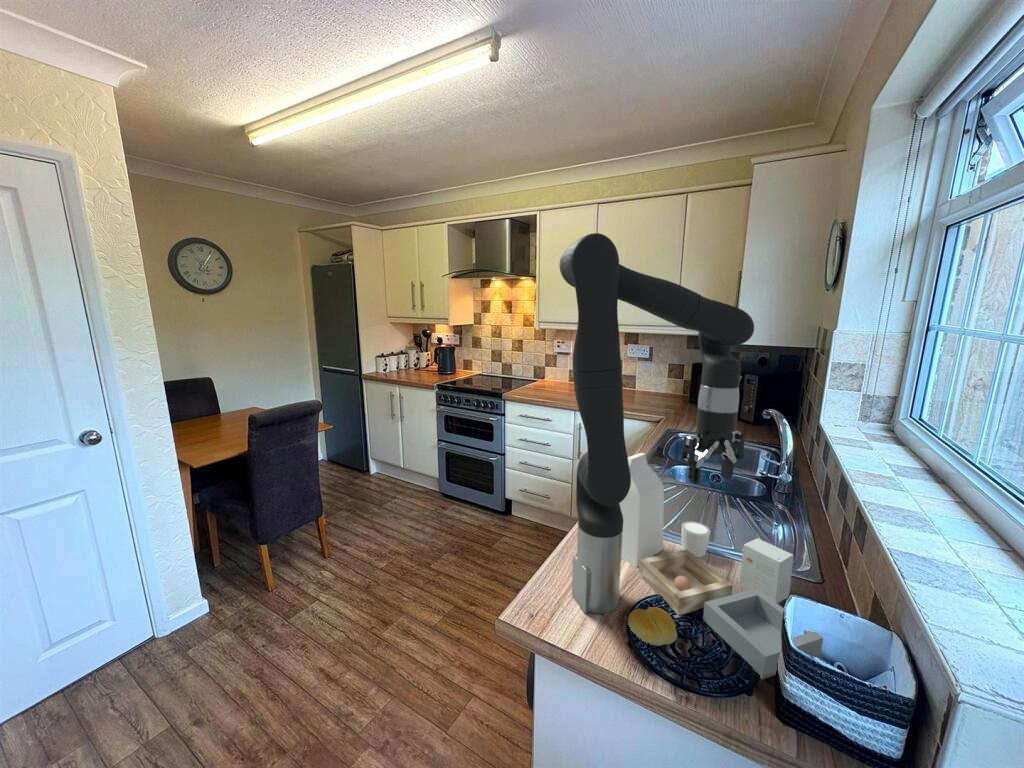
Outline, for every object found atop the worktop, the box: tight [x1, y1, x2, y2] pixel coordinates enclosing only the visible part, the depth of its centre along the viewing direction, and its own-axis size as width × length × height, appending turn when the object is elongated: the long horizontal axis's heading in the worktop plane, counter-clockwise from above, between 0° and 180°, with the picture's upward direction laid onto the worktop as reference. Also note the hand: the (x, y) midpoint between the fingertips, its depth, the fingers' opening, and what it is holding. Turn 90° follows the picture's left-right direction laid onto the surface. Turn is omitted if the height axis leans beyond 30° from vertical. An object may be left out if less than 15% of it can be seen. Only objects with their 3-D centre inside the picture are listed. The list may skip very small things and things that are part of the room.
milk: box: [619, 452, 665, 568], centre depth 104 cm, size 12×12×26 cm
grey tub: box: [702, 589, 824, 680], centre depth 76 cm, size 14×14×4 cm
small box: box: [739, 537, 794, 605], centre depth 89 cm, size 8×6×10 cm
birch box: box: [637, 550, 733, 616], centre depth 90 cm, size 14×14×4 cm
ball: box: [674, 576, 691, 591], centre depth 89 cm, size 3×3×3 cm
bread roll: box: [627, 606, 678, 647], centre depth 78 cm, size 8×9×4 cm
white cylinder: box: [681, 521, 711, 558], centre depth 104 cm, size 7×7×7 cm
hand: (710, 480), depth 86 cm, fingers open, 8 cm apart
